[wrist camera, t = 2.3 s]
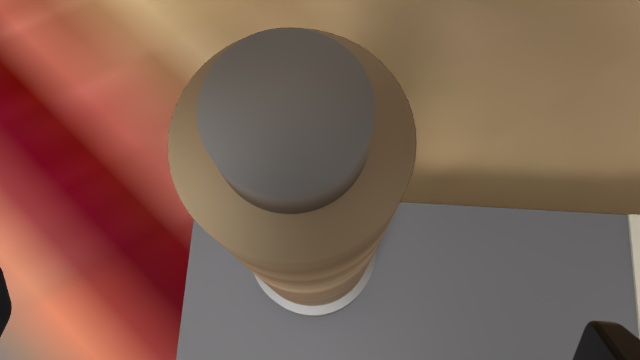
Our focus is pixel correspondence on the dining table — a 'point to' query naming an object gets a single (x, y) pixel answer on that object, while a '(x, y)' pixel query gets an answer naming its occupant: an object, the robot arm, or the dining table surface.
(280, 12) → the dining table surface
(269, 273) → the tan cylinder
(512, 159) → the dining table surface
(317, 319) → the subfloor board
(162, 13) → the dining table surface
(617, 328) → the robot arm
